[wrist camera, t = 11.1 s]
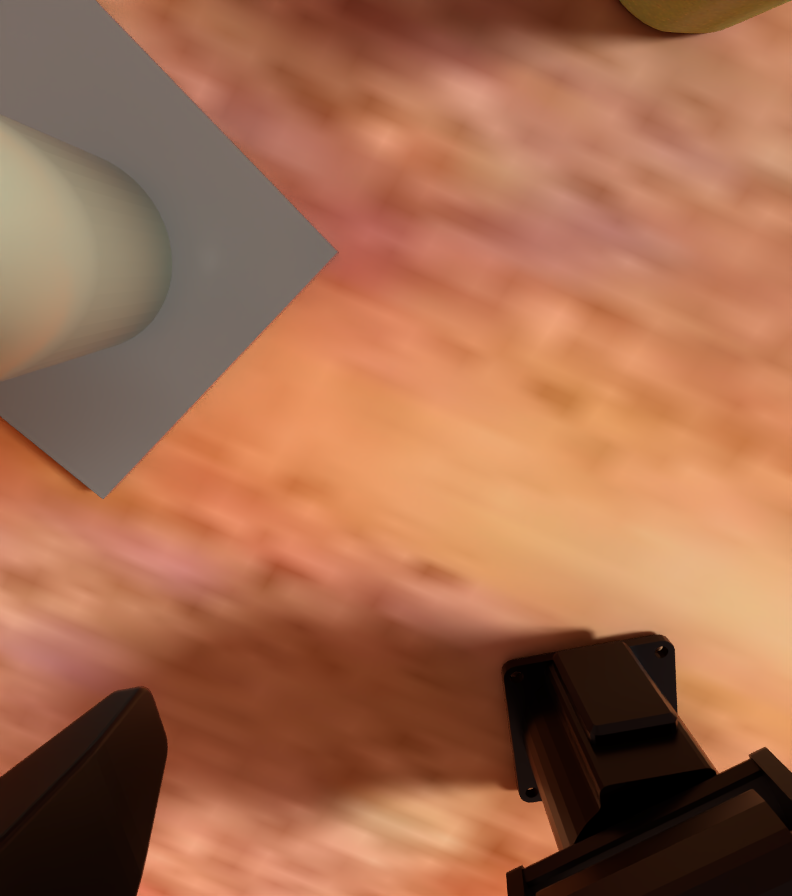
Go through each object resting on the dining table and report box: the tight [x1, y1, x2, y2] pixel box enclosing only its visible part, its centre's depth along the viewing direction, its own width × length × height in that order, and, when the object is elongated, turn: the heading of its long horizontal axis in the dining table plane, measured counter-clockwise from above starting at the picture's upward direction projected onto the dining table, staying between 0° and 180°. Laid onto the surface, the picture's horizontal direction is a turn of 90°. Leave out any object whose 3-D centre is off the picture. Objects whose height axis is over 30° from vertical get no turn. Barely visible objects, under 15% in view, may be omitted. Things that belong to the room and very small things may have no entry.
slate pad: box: [0, 0, 339, 499], centre depth 18 cm, size 11×11×1 cm
